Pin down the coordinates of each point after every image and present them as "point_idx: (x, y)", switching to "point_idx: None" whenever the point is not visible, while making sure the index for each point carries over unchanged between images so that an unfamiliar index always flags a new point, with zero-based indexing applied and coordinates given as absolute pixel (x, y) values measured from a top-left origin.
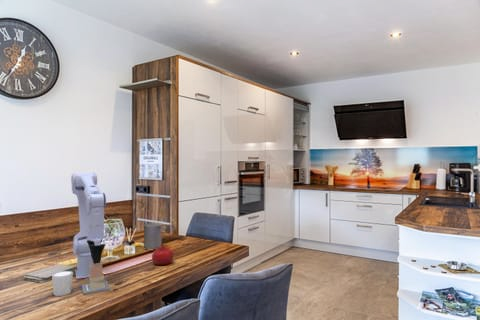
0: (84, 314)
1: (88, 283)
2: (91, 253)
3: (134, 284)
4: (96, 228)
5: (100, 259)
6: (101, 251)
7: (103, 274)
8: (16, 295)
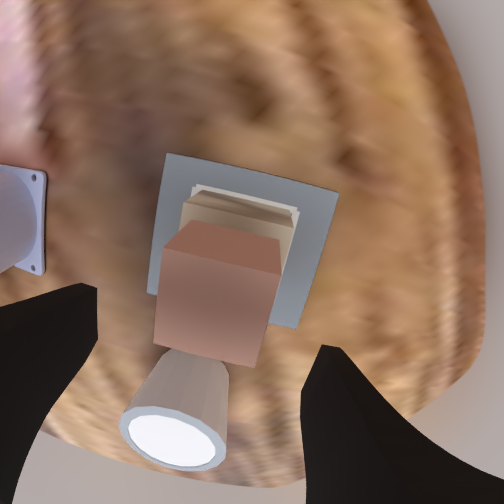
0: (475, 359)
1: (153, 260)
2: (69, 379)
3: (346, 41)
4: None
5: (356, 368)
6: (428, 453)
7: (235, 215)
8: (129, 450)
